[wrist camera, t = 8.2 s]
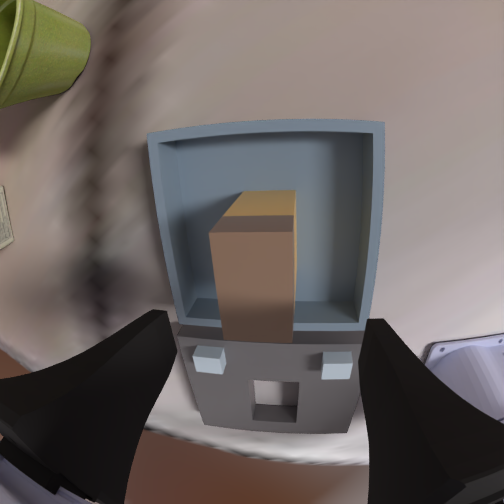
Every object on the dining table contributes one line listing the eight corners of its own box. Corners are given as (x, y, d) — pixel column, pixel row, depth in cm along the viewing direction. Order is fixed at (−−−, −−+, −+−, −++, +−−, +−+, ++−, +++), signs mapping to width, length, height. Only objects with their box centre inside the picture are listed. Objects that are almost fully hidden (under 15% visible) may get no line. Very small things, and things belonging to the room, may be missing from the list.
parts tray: (370, 122, 15) (384, 122, 12) (359, 303, 19) (366, 330, 17) (169, 131, 17) (146, 133, 14) (193, 299, 21) (179, 324, 19)
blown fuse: (295, 190, 16) (292, 231, 10) (296, 268, 18) (292, 343, 12) (243, 191, 17) (208, 232, 11) (249, 268, 19) (223, 339, 13)
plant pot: (26, 122, 18) (-54, 139, 10) (35, 26, 14) (-39, 19, 6) (104, 105, 16) (6, 111, 9) (117, -9, 13) (37, -45, 5)
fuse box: (368, 325, 20) (376, 355, 17) (346, 417, 25) (347, 442, 22) (185, 320, 22) (171, 346, 20) (209, 409, 27) (200, 433, 24)
